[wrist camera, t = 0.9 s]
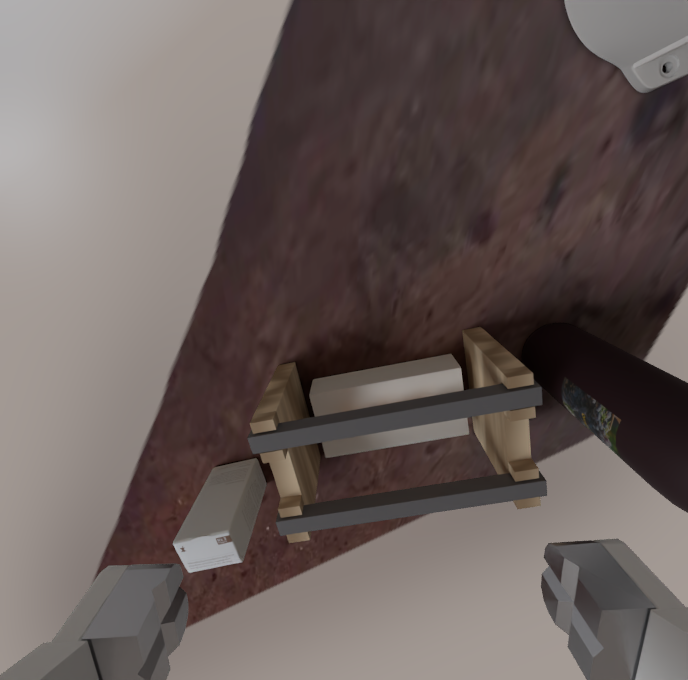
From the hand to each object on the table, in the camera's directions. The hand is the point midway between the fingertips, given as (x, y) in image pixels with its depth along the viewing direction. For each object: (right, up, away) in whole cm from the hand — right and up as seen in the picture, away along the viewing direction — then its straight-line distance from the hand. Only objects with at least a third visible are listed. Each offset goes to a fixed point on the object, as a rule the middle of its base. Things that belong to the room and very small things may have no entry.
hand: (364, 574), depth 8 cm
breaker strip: (+5, -2, +36) cm, 36 cm away
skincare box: (-14, -12, +40) cm, 44 cm away
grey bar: (+5, -9, +26) cm, 28 cm away
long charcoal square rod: (+3, -1, +24) cm, 24 cm away
